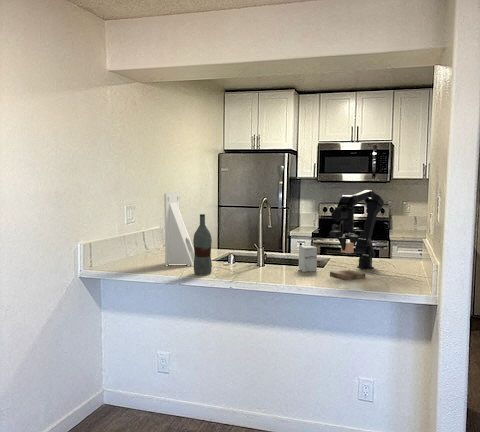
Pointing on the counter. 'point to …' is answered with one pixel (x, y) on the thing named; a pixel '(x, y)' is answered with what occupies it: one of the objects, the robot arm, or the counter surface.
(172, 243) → the white bracket plate
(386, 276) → the counter surface
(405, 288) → the counter surface
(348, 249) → the terracotta block
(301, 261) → the supplement box
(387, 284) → the counter surface
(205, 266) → the bottle
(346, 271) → the walnut base
